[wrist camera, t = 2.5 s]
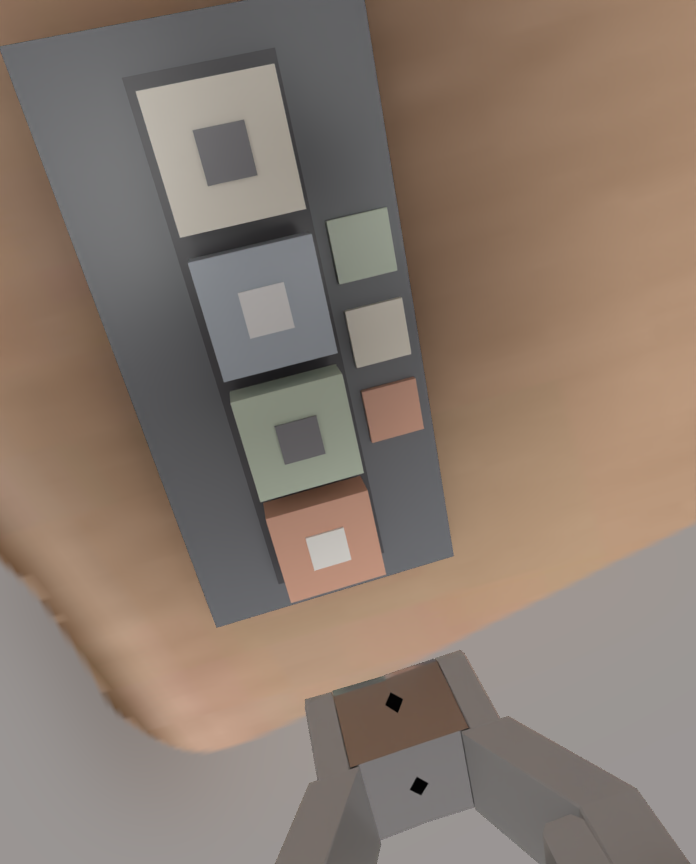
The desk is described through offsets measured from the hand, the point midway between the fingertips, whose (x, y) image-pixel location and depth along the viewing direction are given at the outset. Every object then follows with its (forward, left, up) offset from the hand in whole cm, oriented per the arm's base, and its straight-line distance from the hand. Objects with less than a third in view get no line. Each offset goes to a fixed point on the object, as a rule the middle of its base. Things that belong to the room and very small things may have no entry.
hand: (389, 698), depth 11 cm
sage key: (0, 0, -14) cm, 14 cm away
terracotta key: (+5, 0, -14) cm, 15 cm away
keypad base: (-3, 0, -17) cm, 17 cm away
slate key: (-5, 0, -14) cm, 15 cm away
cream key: (-10, 0, -14) cm, 17 cm away
